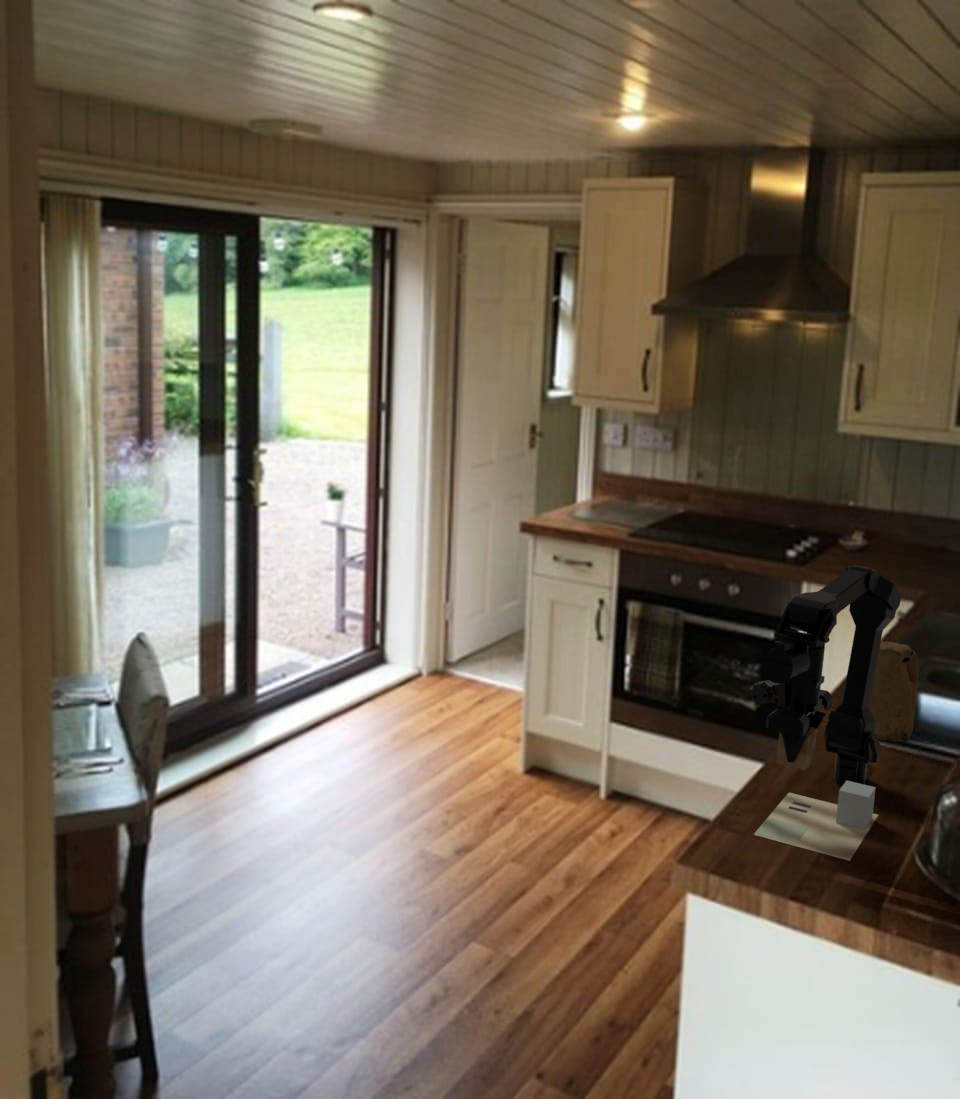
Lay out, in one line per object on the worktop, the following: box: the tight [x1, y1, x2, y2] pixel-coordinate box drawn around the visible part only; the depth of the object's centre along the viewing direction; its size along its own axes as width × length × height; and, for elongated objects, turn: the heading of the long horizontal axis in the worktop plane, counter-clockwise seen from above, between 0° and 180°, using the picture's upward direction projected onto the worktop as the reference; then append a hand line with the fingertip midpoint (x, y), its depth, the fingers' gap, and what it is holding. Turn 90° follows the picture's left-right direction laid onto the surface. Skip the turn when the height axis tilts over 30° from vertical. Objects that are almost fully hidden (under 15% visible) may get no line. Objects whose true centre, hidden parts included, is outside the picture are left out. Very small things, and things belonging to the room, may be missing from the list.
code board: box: [753, 792, 879, 861], centre depth 196 cm, size 20×16×1 cm
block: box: [869, 640, 920, 743], centre depth 238 cm, size 11×8×20 cm
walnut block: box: [775, 727, 818, 771], centre depth 195 cm, size 5×5×6 cm
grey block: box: [836, 780, 877, 830], centre depth 197 cm, size 5×5×6 cm
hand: (795, 757), depth 196 cm, fingers closed on walnut block, 5 cm apart
